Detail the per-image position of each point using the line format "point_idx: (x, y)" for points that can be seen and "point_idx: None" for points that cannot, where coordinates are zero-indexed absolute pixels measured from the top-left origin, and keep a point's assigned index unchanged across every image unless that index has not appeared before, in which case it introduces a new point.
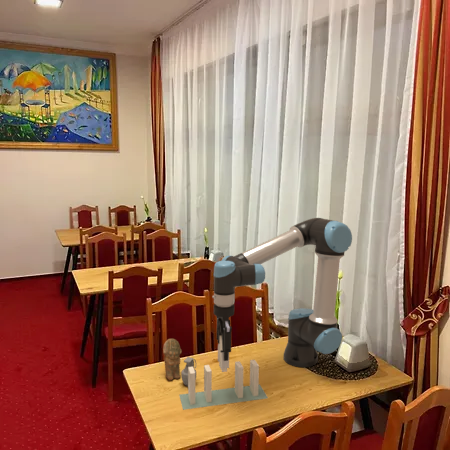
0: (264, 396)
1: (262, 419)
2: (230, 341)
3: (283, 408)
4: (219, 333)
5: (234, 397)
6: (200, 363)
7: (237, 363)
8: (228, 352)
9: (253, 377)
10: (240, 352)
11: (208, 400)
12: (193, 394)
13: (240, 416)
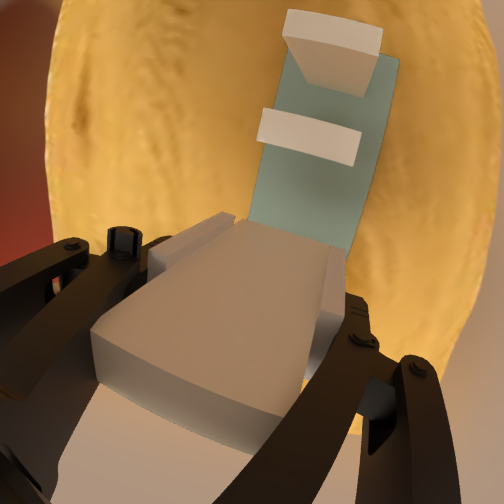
0: (383, 64)
1: (488, 163)
2: (450, 486)
3: (465, 58)
4: (84, 406)
5: (335, 172)
6: (80, 177)
7: (287, 137)
8: (341, 315)
9: (361, 76)
10: (77, 35)
11: None
12: None
13: (440, 218)
